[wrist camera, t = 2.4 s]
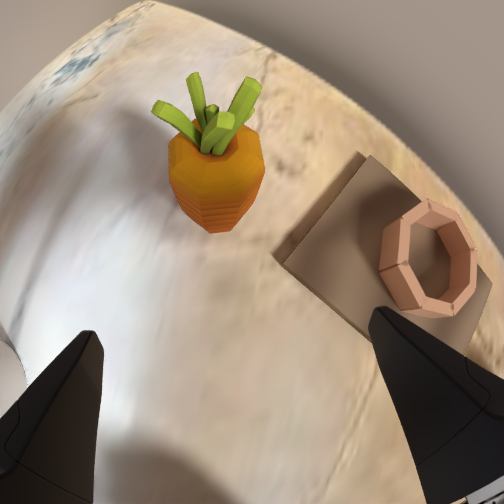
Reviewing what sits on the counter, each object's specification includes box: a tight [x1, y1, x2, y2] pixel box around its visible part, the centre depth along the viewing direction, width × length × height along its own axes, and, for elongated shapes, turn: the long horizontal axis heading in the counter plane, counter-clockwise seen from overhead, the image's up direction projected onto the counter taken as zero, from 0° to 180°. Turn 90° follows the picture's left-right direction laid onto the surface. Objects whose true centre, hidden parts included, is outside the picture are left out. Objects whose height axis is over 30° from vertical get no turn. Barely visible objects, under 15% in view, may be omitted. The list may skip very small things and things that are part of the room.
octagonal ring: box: [378, 198, 477, 318], centre depth 22 cm, size 10×10×3 cm
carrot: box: [151, 72, 265, 233], centre depth 16 cm, size 5×5×15 cm
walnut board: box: [281, 155, 492, 355], centre depth 23 cm, size 20×14×1 cm
